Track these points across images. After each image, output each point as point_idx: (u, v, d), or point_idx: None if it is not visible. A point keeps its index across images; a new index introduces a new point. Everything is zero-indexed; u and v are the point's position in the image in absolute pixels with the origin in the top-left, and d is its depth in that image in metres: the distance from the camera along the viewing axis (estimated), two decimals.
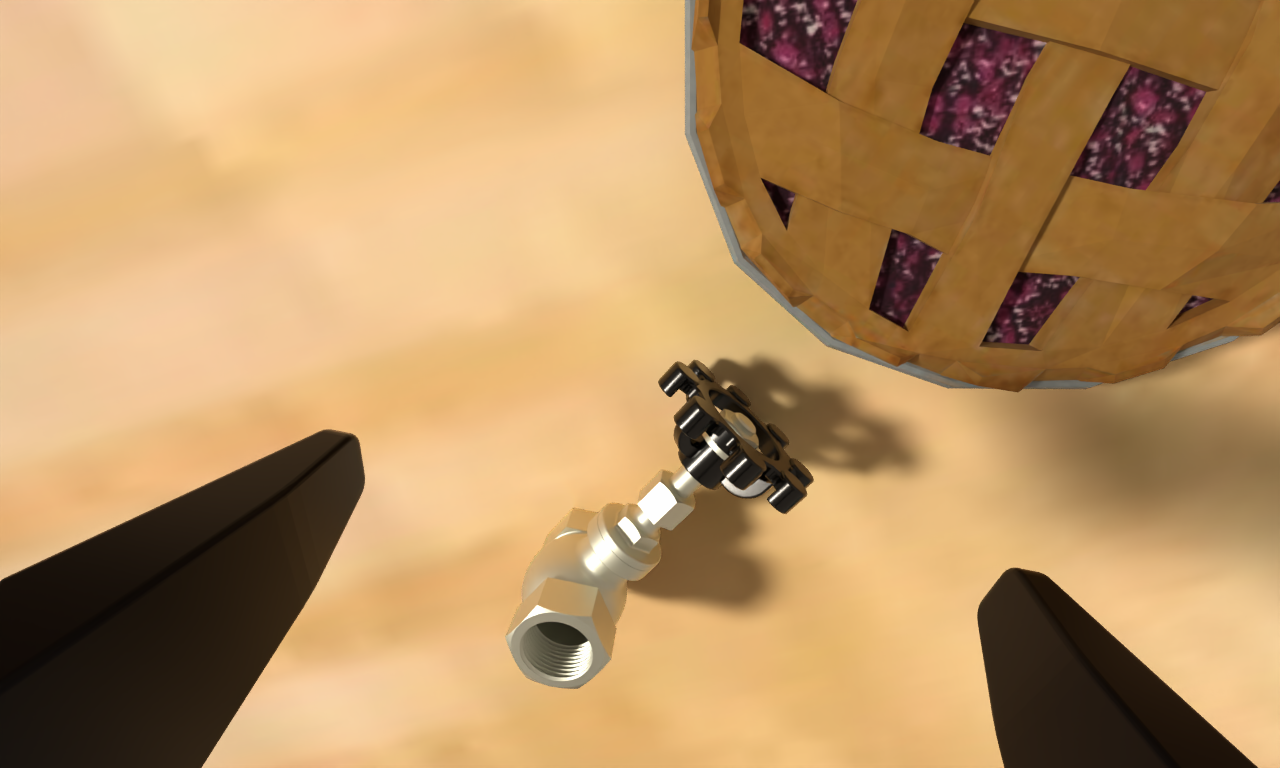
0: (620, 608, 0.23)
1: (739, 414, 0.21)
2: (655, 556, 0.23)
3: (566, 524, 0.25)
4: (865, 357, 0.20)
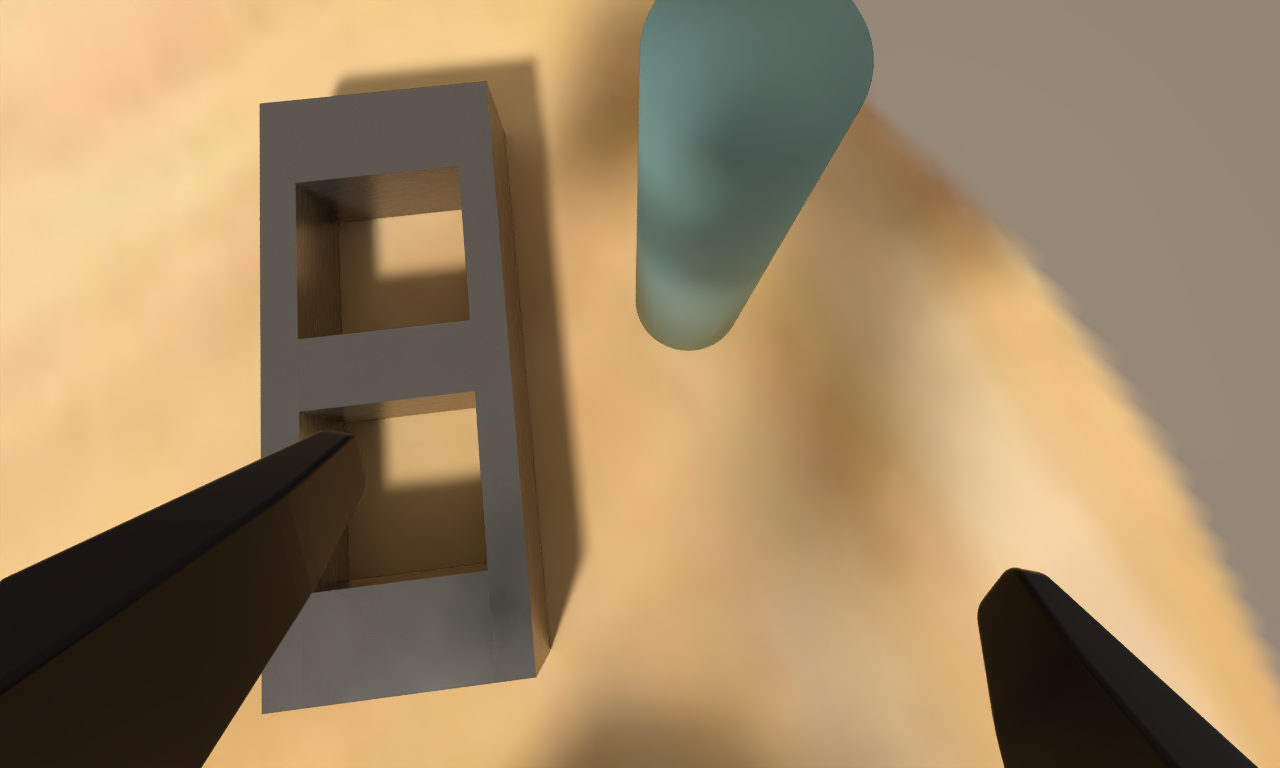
0: None
1: None
2: None
3: None
4: None
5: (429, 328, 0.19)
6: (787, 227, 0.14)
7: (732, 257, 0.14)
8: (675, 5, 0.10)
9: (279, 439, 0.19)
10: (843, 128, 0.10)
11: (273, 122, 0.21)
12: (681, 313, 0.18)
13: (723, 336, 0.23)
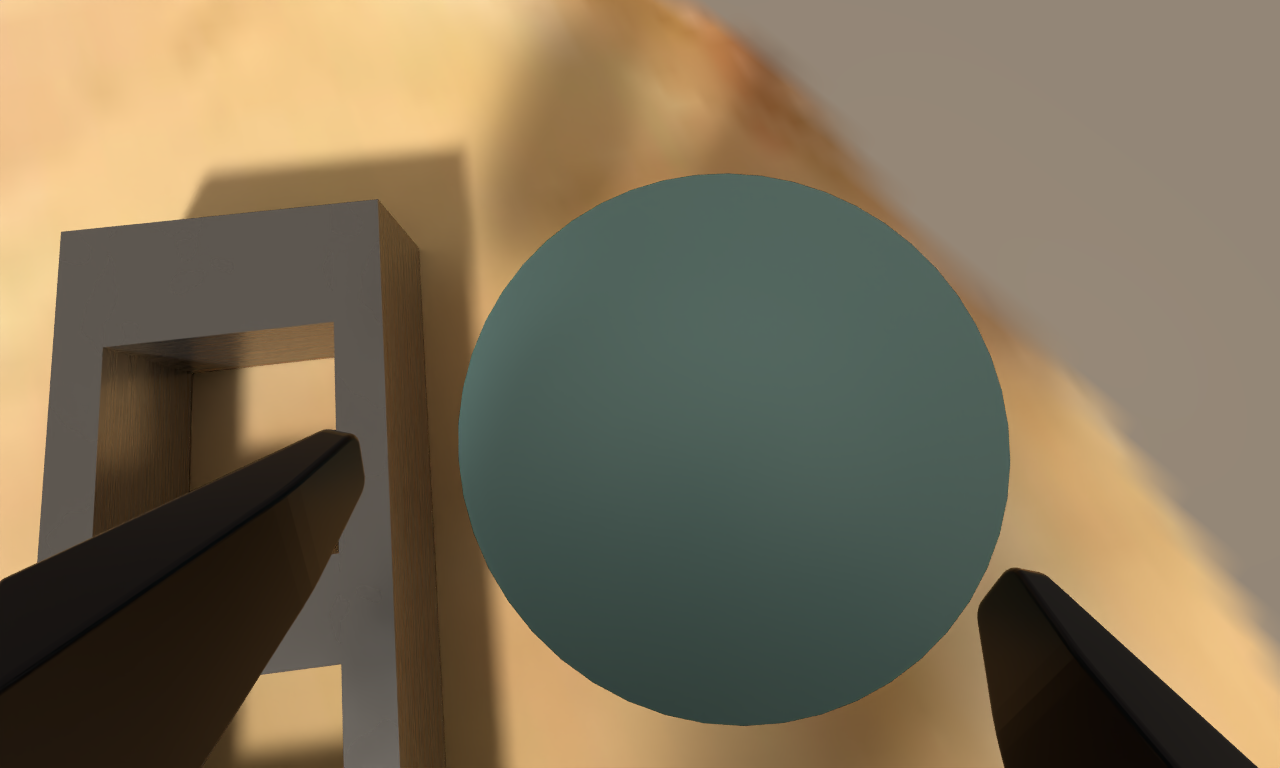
0: None
1: None
2: None
3: None
4: None
5: None
6: None
7: None
8: (549, 300, 0.04)
9: None
10: (943, 626, 0.04)
11: (78, 259, 0.15)
12: None
13: None
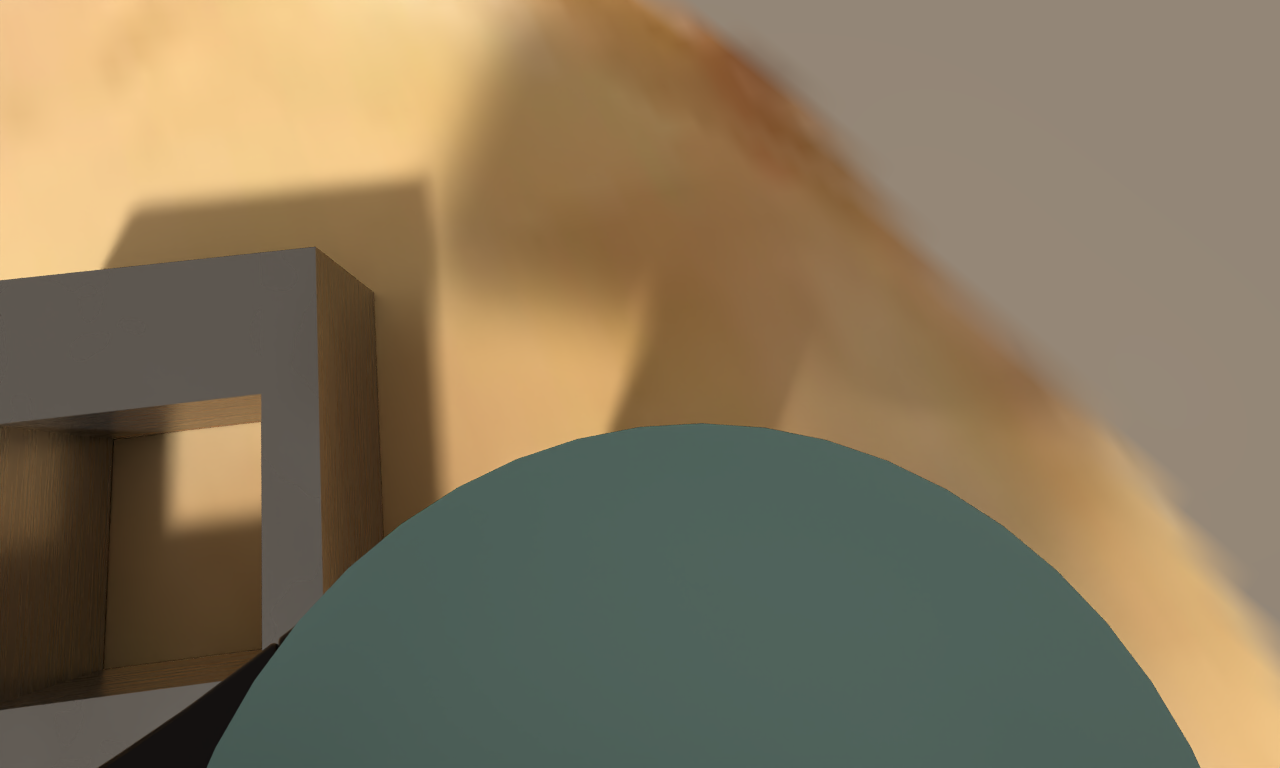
0: None
1: None
2: None
3: None
4: None
5: (191, 693, 0.11)
6: None
7: None
8: (348, 693, 0.02)
9: None
10: None
11: None
12: None
13: None
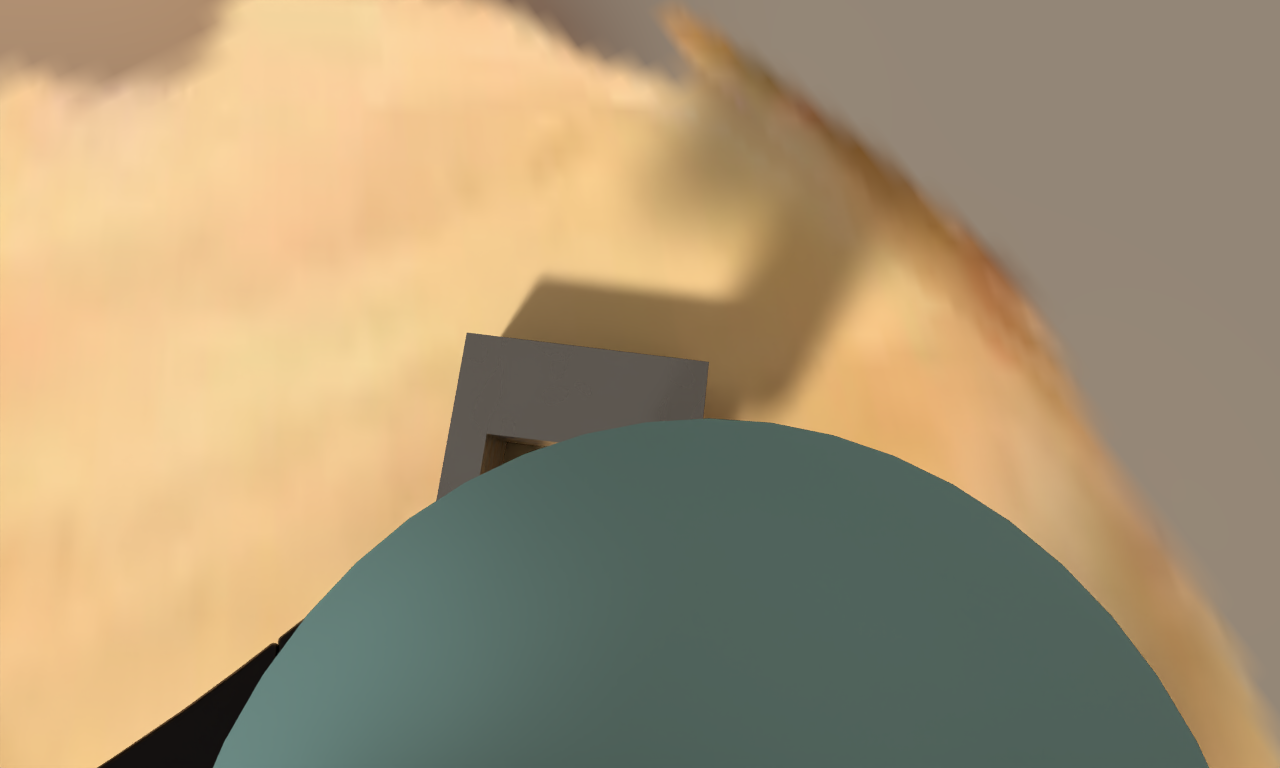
0: None
1: None
2: None
3: None
4: None
5: None
6: None
7: None
8: (357, 686, 0.02)
9: None
10: None
11: (477, 357, 0.19)
12: None
13: None
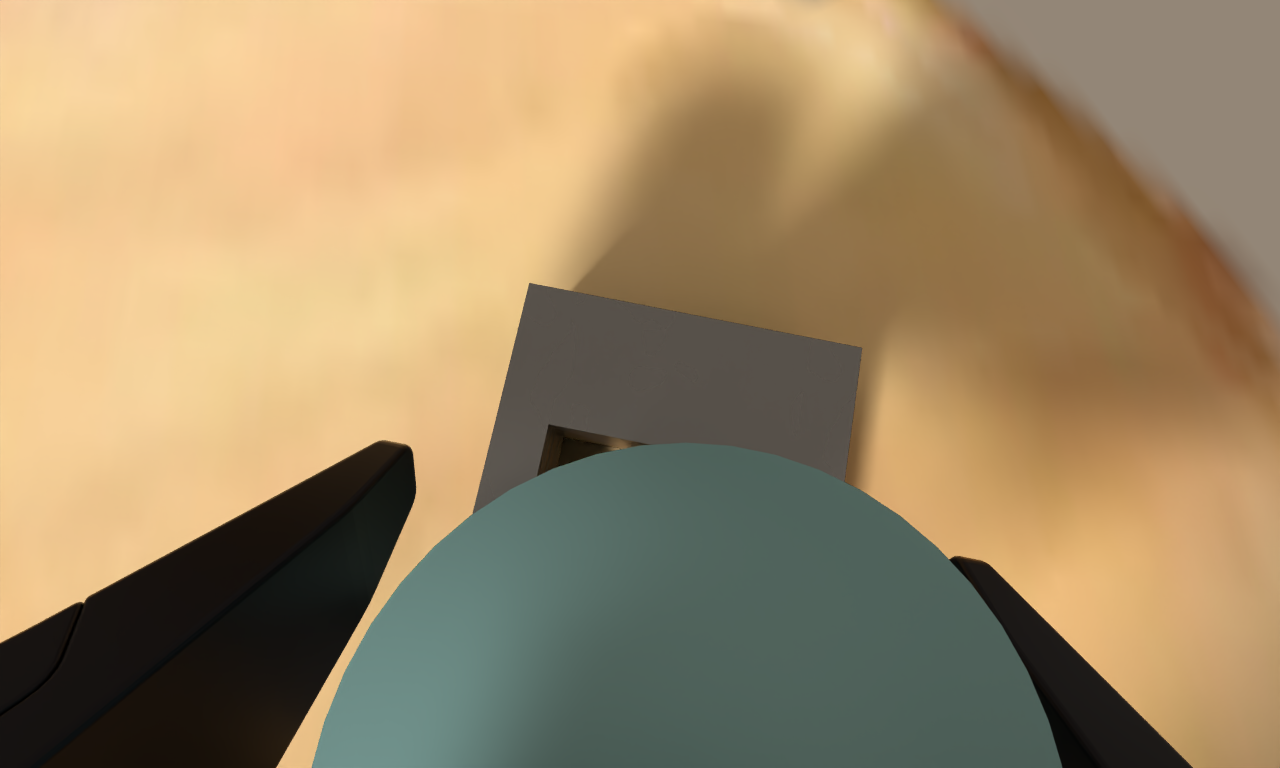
0: None
1: None
2: None
3: None
4: None
5: None
6: None
7: None
8: (436, 634, 0.03)
9: None
10: None
11: (541, 318, 0.14)
12: None
13: None
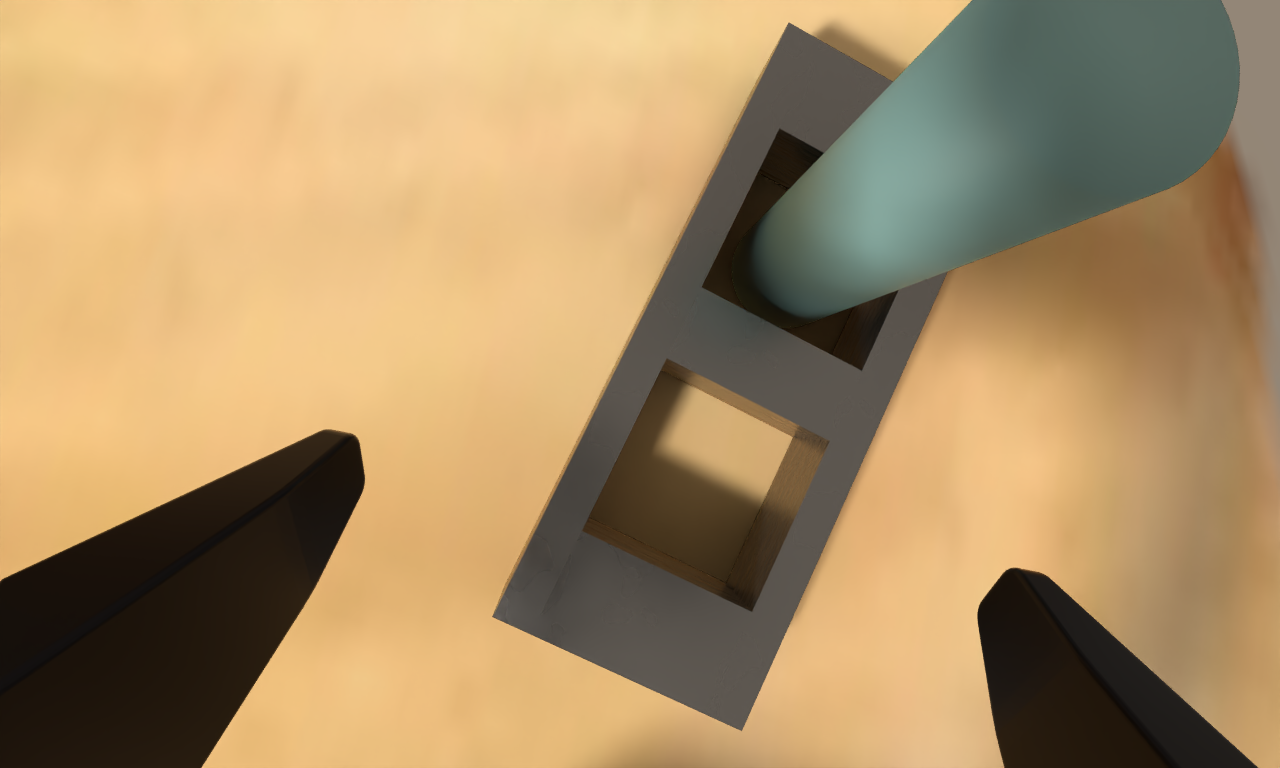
0: None
1: None
2: None
3: None
4: None
5: (823, 355, 0.18)
6: None
7: (924, 265, 0.12)
8: None
9: (635, 373, 0.17)
10: (1179, 181, 0.08)
11: (791, 51, 0.18)
12: (802, 294, 0.17)
13: None
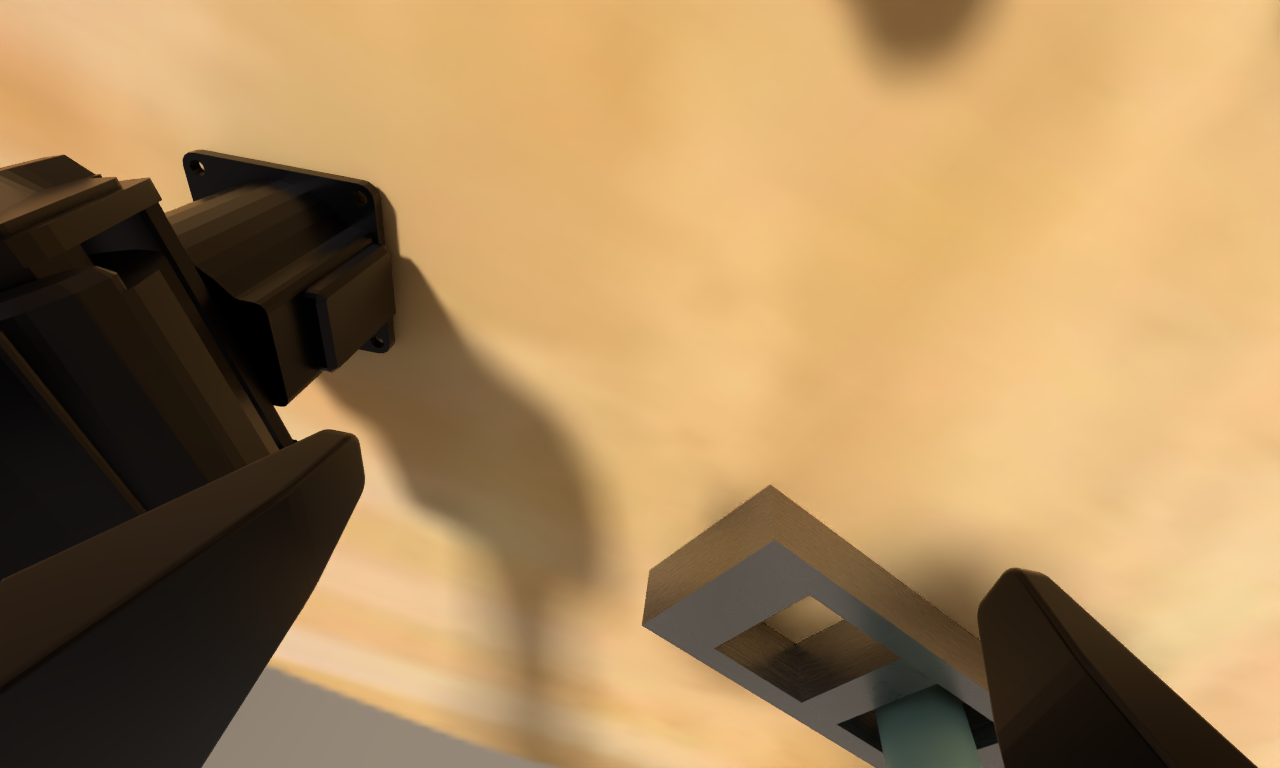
0: None
1: None
2: None
3: None
4: None
5: (856, 714, 0.28)
6: None
7: None
8: None
9: (901, 643, 0.25)
10: None
11: None
12: (906, 739, 0.26)
13: None
